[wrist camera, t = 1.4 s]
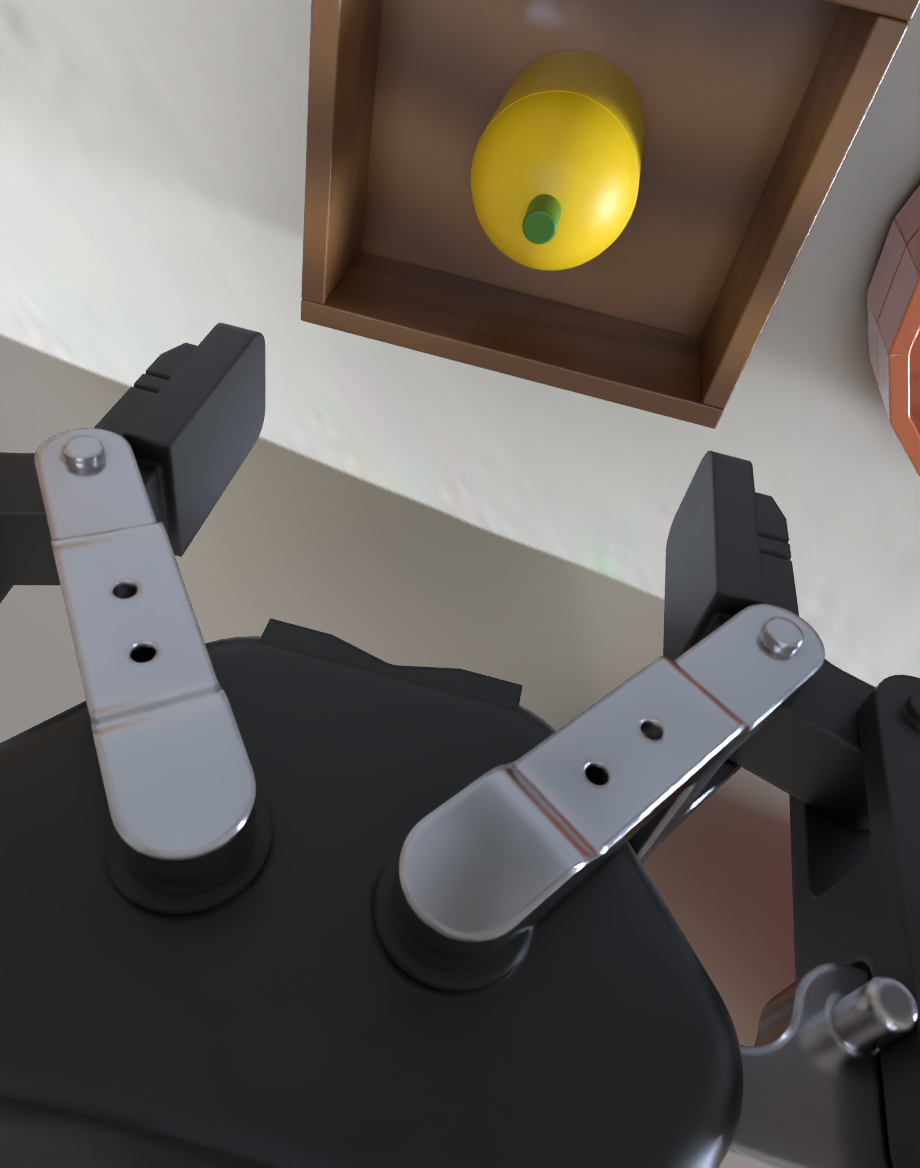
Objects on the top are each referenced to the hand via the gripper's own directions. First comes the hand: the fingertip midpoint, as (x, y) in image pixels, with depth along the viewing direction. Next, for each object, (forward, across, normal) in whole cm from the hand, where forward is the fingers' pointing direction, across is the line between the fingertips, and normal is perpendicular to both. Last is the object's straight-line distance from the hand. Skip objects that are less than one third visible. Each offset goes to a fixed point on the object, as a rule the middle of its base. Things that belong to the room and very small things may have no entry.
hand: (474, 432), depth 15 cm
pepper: (+17, 0, 0) cm, 17 cm away
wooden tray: (+18, 0, 0) cm, 18 cm away
